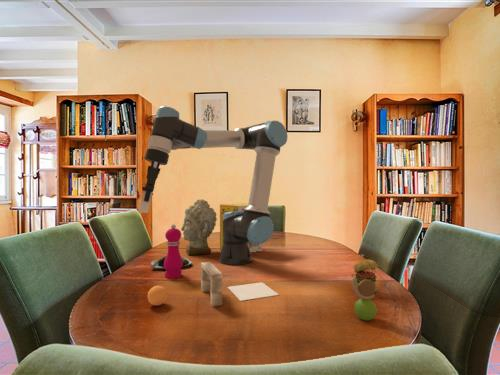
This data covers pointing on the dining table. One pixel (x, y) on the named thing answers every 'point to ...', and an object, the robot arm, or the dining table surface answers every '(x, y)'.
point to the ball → (157, 295)
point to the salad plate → (160, 264)
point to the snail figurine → (364, 299)
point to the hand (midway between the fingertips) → (142, 212)
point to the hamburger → (364, 274)
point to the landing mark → (252, 291)
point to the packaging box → (234, 208)
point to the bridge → (211, 282)
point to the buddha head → (198, 227)
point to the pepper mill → (173, 253)
